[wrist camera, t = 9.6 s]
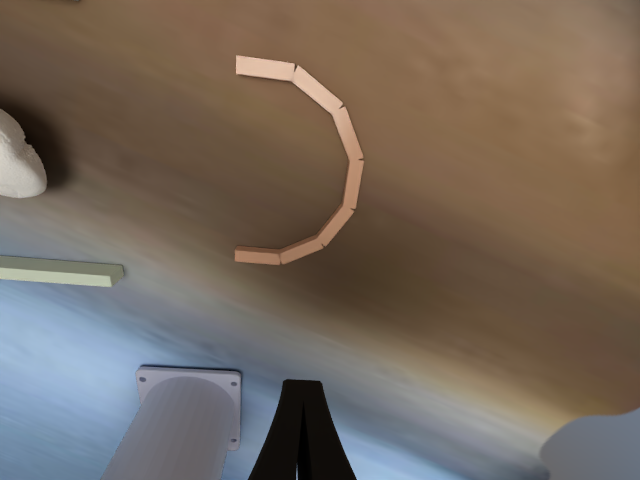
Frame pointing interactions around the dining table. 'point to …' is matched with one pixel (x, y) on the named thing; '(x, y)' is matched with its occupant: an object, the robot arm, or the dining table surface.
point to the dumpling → (18, 162)
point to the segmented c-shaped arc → (350, 144)
